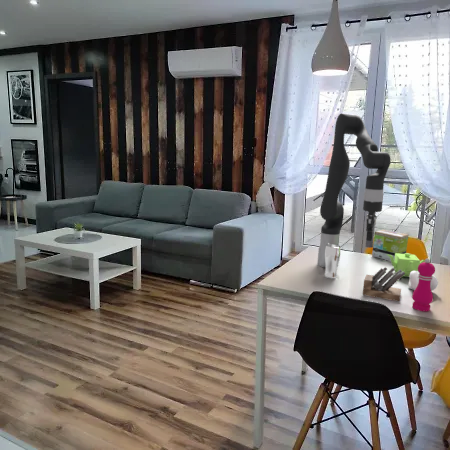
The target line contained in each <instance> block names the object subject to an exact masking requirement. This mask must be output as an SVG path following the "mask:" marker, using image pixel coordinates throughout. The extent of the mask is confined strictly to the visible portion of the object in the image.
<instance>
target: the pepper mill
mask: <svg viewBox="0 0 450 450" xmlns="http://www.w3.org/2000/svg"><path fill="white" fill-rule="evenodd" d="M424 260H425V262H423V263H420V264H419V266H418V272H419V274H418V275H419V276H418V278H419V283H418V286H417V287H416V289H415V290H413V292H412V296H411V297H412V300H413V302H412V305H411V307H412V308H413V309H414V310H416V311H420V312H429V311H430V310H431V304H432V302H433V301H434V296H433V292H432V291H431V288H430V283H431V280H432V277H433V276H432V275H434V274H435V272H436V266H435V265H434V264H433V263H431V259H430V258H425V259H424Z"/></svg>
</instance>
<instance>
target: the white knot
mask: <svg viewBox="0 0 450 450" xmlns="http://www.w3.org/2000/svg"><path fill="white" fill-rule="evenodd" d="M418 274H419V272H418V271H412V272H410V275H409V278H408V279H409V280H408V286H407V287H409V289H410V290H412V291H414V290H415V289H416V287H417V286H418V283H419V278H418V276H419V275H418ZM432 276H433V277H432V280H431V283H430V288H431V292H432V291H435V290H436V289H437V287H438V285H439V281H438V279H437V277H436V276H435V275H434V274H433V275H432Z"/></svg>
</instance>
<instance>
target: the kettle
mask: <svg viewBox="0 0 450 450" xmlns="http://www.w3.org/2000/svg"><path fill="white" fill-rule="evenodd" d="M386 255H388V254H386ZM388 256H389V257H390V259H391V261H390V263H391V266H392V268H394V269H395V270H394V271H393V272H395V273H397V272H398V271H399V270H402V272H404V273H405V274H404V275H403V276H402V277H401V278H400V279H402V278H403V277H409V275H410V272H412V271H418V266H419V264H420V263H423V262H425V259H421V260H420V259H419V258H418V257H417V255H416V254H412V253H409V252H406V253H405V254H399V253H395V260H394V258H393V256H392V255H388ZM402 272H401V273H402Z"/></svg>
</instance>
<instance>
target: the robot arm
mask: <svg viewBox="0 0 450 450" xmlns="http://www.w3.org/2000/svg"><path fill="white" fill-rule="evenodd" d="M334 125H335V126H334V137H333V146H332V152H331V158H330V163H329V167H328V174H327V180H326V185H325V190H324V194H323V197H322V201H321V204H320V209H319V213H320V216H321V218H322V219H323V220H324V221H325V222H324V223H323V224H322V226H321V227H320V240H319V241H320V243H319V247H318V253H317V264H316V265H317V267H318V266H319V267H321V268H325V269H326V266H325V249H326V245H327V244H336V245H339V246H340V236H341V234H340V233H341V229H342V227H343V221H344V216H345V215H344V214H345V213H344V212H345V209H344V205H343V204H342V203H341V202H340V201H339V196H340V193H341V190H342V188H343V186H345V183H346V181H347V179H348V176H349V170H350V166H351V165H350V163H351V162H350V158H349V155H348V153H347V150H346V147H345V136H346V135H354V136H356V140H355V146H356V148H357V150H358V151H359V153H360V154H361V157H362V162H363V165H364V167H365V168H367V169H371V170H376V171H375V173H372V174H368V175H367V176H366V179H365V189H364V194H363V208H362V210H363V211H365V212H367V213H368V214H367V215H366V217H365V218H366V219H365V220H366V221H365V222H366V223H365V225H366V227H365V228H366V229H365V230H366V235H367V238H366V237H365V241H366V240H367V241H372V235H373V227H375V228H376V225H377V219H378V215H377V213H379V212H382V211H383V204H384V203H383V202H384V201H383V200H384V185H385V184H384V183H385V179H386V176H387V173H388V171H389V168H390V165H391V154H389V153H388V152H387V151H379V148H378V145H377V143H376V142H375V141H374V139H372V137H371V136H370V134H369V132H368V129H367V127H366V126H365V123H364V120H363V119H362V117H361V116H360V115H358V114H354V113H353V114H352V113H345V112H341V113H340V114H338V116H337V118H336V120H335V124H334ZM375 220H376V221H375ZM373 223H374V224H373ZM369 227H371V229H370V228H369Z"/></svg>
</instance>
